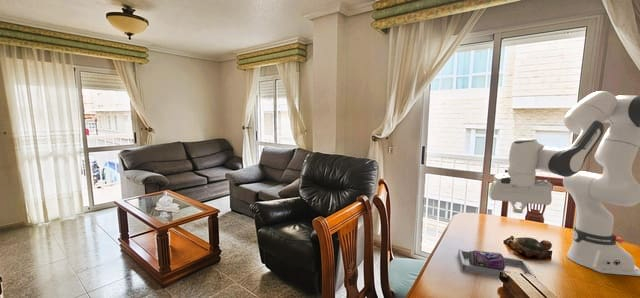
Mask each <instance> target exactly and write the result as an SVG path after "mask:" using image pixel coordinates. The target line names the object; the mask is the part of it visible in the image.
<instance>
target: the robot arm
mask: <svg viewBox="0 0 640 298" xmlns="http://www.w3.org/2000/svg"><path fill="white" fill-rule="evenodd" d="M563 123H564V125H565V127H566V128H567V129H568V130H569V132H571V133H572V134H574V135H578V136H577V138H576V139H575V141H574V142H572V144H571V145H570V146H568V147H563V148H561V147H560V148H559V147H552V146H546V145H544V144H541V143H540V142H539V141H538V140H537V139H536V138H534V137H519V138H516V139H514V140H513V141H512V142H511V145H510V150H509V156H508V162H509V166H508V169H507V172H503V173H499V174H495V175H493V180H494V181H492V183H490V187H489V191H488V196H489V198H490V199H491V200H492V201H499V202H509V204H510V205H511V208H512V212H513V213H515V214H523V211H524V209H526V207H527V206H528V204H533V205H545V206H549V205H550V204H552V201H553V200H552V191H553V188H554V187H553V183H551V182H550V181H549V180H540V179H536V177H537V175H536V173H537V171H541V172H545V173H546V172H547V173H551V174H554V175H558V176H561V177H563V179H562V185H563V187H564V190H566V191H567V192H568V193H569V194H570V196H571V197H572V199H573V202H574V203H575V207H576V220H575V226H573V232H572V242H571V245H570V248H569V249H568V251H567V253H566V257H567V258H568V259H569V260H570V261H572V262H574V263H576V264H578V265H580V266H583V267H586V268H589V269H591V270H594V271H596V272H598V273H601V274H610V275H611V274H612V275H622V276H634V277H635V276H637V277H640V268H639V267H638V266H637V265H635V259H634V257H633V255H631V254H630V253H629V252H628V251H627V250H625V249H624V248H623V247H622V246H620V245H619V244H623V243H624V239H623V238H621V237H620V236H616V235H615V234H613V229H614V221H615V218H614V215H613V214H612V212H610V211H609V210H608V209H607V208H606V207H605V206H604V204H603V203H608V204H611V205H615V206H621V207H622V206H623V207H634V206H636V205H638V204H640V183H639V182H638V181H637V180H636V178H635V177H634V175H633V170H632V169H633V168H632V167H633V163H634V161H635V158H636V155H637V153H638V151H639V148H640V94H639V95H629V94H627V95H615V94H613V93H611V92H609V91H605V90H600V91H599V90H598V91H595V92H592V93H590V94H588V95H587V96H585V97H584V98H582V99H581V100H580V101H578V102H577V103H576V104H575V105H574V106H573V107H571V109H569V110H568V112H567V113H566V114H565V116H564V119H563ZM603 123H606V124H608V123H609V126H608V128H607V130H606V131H605V126H604V124H603ZM604 132H605V133H604ZM600 140H601V141H600ZM599 141H600V143H599V145H598V147H597V149H596V151H595V153H594V154H593V155H594V156H593V157H594V160H595V162H597V164H599V166H602V168H603V171H602V173H595V172H590V171H585V170H584V171H583V170H582V168H583V166H584V164H585V162H586V160H587V158H588V157H589V155H590V154H591V152H592V151H593V149H594V148H595V147H596V145H597V144H598V142H599ZM536 170H537V171H536ZM602 202H603V203H602ZM517 203H519V204H520V206H519V207H516V205H517ZM618 243H619V244H618Z"/></svg>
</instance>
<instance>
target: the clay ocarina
mask: <svg viewBox="0 0 640 298" xmlns="http://www.w3.org/2000/svg"><path fill="white" fill-rule="evenodd" d="M510 247H511V249H512V250H515V251H522V252H523V253H524V254H525V256H526V257H527V258H531V257H533V256H536V258H537V259H539V260H542V259H543V258H544V257H545V254H546V252H549V251H550V250H551V249H552V247H553V245H552V242H551V241H549V240H546V239H542V240H540V241H538V239H536V238H532V237H519V238H517V239H516V240H515V241H514V242H511V243H510Z"/></svg>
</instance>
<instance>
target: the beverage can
mask: <svg viewBox="0 0 640 298" xmlns="http://www.w3.org/2000/svg"><path fill="white" fill-rule="evenodd" d="M469 251H470V252H469V257H468V261H469V263H468V264H469V265H475V266H481V267H487V268H493V269H498V270H504V271H505V269H506V263H505V259H504V257H505V256H503V254H502V253H500V252H490V251H485V250H484V251H483V250H475V249H474V250H469Z"/></svg>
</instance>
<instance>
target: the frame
mask: <svg viewBox="0 0 640 298" xmlns="http://www.w3.org/2000/svg"><path fill="white" fill-rule="evenodd" d="M470 251H471V250H464V249H458V253H457V254H458V260H459V263H460V266H461V270H462V271H465V272H469V273H470V272H471V273H477V274H480V275H481V274H482V275H488V276H493V277H498V278H500V277H499V273H500V272H511V271H510V270H505V269H504V270H498V269H493V268H487V267H481V266H475V265H470V263H466V262H465V259H464V258H469V252H470ZM503 257H504V259H505V265H506V264H507V265H512V266H519V267H521V268H522V269H523V271H524V273H525V274H526V273H528V274H530V275H532V276H534V277H535V278H536V279H537V276H536V275H535V273H534V271H532V269H531V267H530V266H529V265H528V264H527V262H526V261H525V260H524V259H521V258H516V257H515V258H514V257H508V256H503ZM513 272H514V271H513ZM514 273H517V272H516V271H515V272H514Z"/></svg>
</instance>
